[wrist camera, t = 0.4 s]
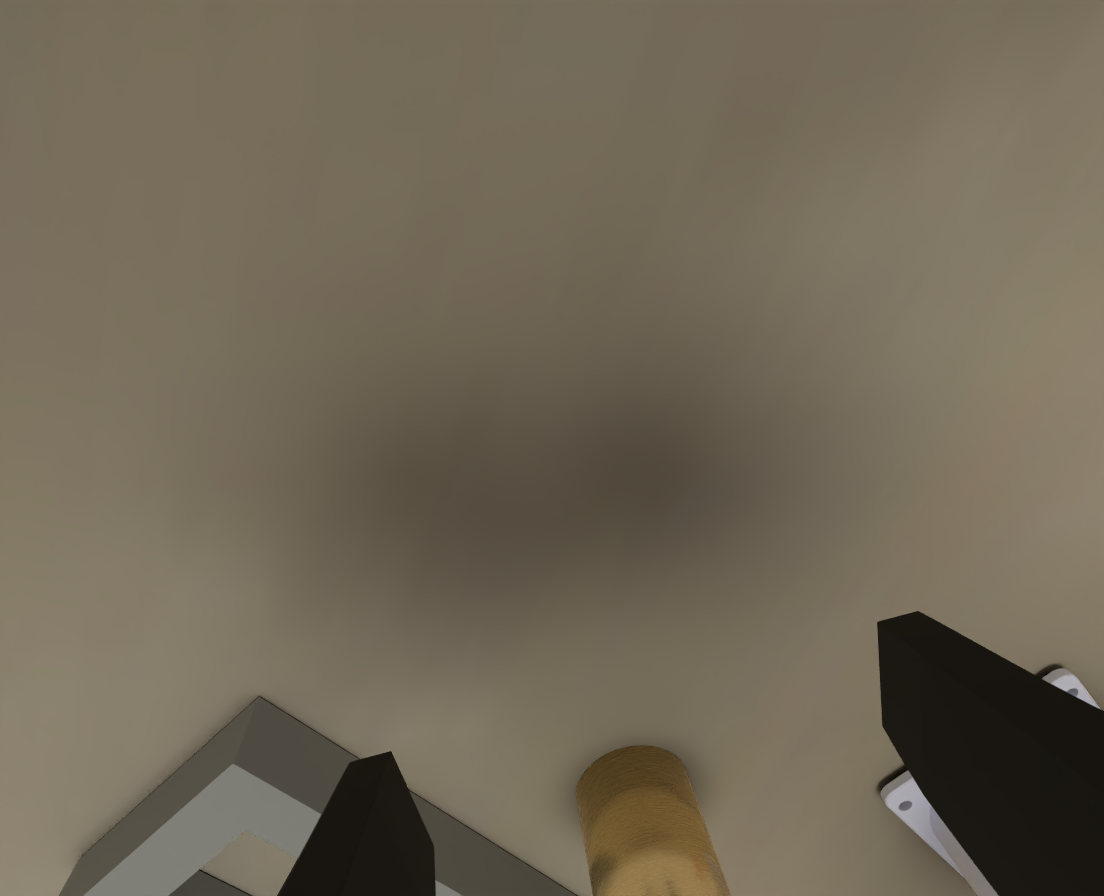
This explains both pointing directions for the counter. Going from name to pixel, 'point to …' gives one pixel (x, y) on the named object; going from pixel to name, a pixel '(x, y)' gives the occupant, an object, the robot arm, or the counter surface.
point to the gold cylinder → (645, 828)
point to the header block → (268, 819)
